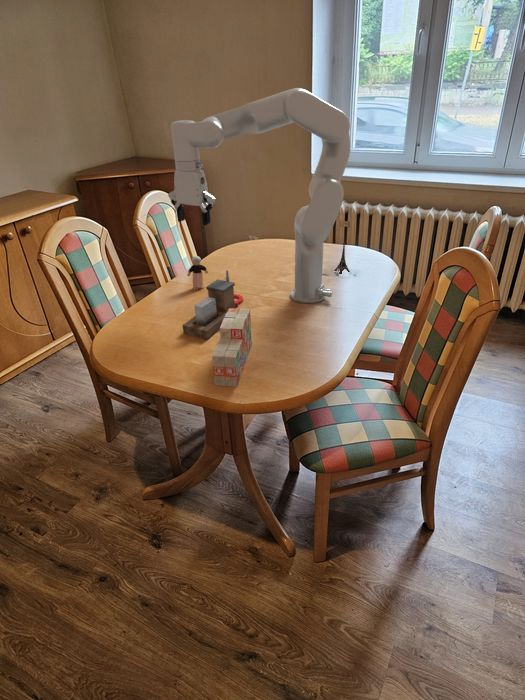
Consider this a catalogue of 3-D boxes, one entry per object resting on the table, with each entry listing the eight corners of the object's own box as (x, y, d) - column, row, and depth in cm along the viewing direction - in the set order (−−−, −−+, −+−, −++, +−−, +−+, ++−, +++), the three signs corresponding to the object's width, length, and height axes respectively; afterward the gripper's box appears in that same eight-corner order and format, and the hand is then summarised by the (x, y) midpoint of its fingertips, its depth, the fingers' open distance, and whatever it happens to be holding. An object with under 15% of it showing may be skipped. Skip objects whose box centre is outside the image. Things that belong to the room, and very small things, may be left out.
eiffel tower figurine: (319, 276, 181) (320, 243, 174) (326, 267, 189) (328, 235, 182) (356, 281, 176) (359, 247, 169) (362, 271, 184) (365, 239, 177)
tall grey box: (217, 323, 148) (215, 298, 143) (205, 333, 143) (202, 307, 138) (209, 321, 149) (207, 296, 145) (197, 331, 144) (194, 305, 139)
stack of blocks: (237, 387, 118) (235, 347, 112) (214, 386, 119) (210, 345, 113) (252, 345, 136) (250, 308, 130) (231, 344, 137) (228, 307, 131)
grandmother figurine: (191, 291, 170) (187, 259, 163) (188, 288, 173) (184, 256, 166) (210, 287, 173) (207, 255, 166) (207, 284, 176) (204, 252, 169)
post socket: (239, 313, 154) (237, 283, 148) (207, 339, 139) (204, 307, 134) (216, 308, 157) (214, 278, 152) (183, 333, 143) (179, 301, 137)
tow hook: (222, 296, 167) (216, 306, 159) (220, 262, 161) (214, 270, 153) (245, 297, 166) (240, 307, 158) (244, 263, 160) (238, 271, 152)
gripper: (219, 165, 138) (223, 222, 147) (172, 162, 145) (179, 216, 154) (205, 170, 132) (210, 228, 141) (157, 166, 139) (165, 222, 148)
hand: (194, 222), depth 147 cm, fingers open, 9 cm apart
